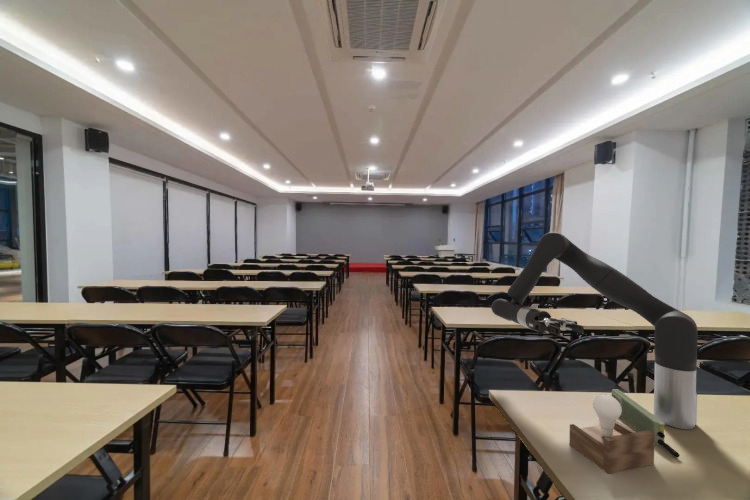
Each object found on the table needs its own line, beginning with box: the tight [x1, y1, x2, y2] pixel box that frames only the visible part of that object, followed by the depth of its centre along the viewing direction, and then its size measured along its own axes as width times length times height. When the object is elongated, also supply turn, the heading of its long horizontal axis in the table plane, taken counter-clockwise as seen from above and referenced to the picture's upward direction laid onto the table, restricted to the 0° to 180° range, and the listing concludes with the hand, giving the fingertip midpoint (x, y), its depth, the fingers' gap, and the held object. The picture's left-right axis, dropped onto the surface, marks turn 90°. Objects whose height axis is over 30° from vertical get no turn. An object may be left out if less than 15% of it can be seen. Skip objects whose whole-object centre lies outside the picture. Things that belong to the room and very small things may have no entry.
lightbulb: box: [592, 393, 622, 437], centre depth 83 cm, size 6×6×11 cm
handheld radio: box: [611, 388, 681, 458], centre depth 93 cm, size 7×3×25 cm
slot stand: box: [569, 420, 655, 475], centre depth 83 cm, size 14×11×8 cm
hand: (571, 330), depth 98 cm, fingers open, 8 cm apart
